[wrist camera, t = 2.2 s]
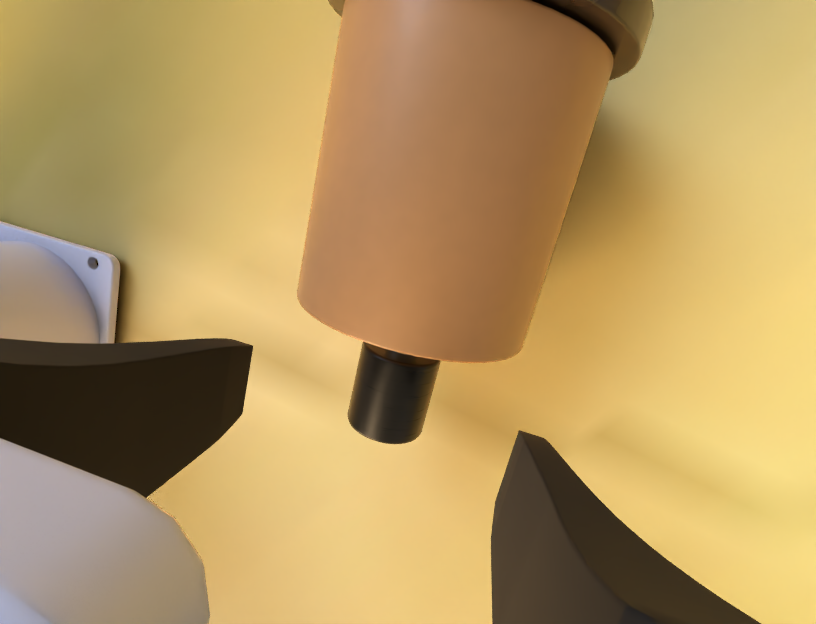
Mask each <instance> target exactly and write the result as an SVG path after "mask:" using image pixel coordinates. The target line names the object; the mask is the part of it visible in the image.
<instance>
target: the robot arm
mask: <svg viewBox="0 0 816 624" xmlns="http://www.w3.org/2000/svg"><path fill="white" fill-rule="evenodd" d="M96 259H97V261H98V266H97V264H96ZM119 278H120V263H119V261H118V259H117V258H116V257H115V256H114V255H112V254H109V253H106V252H102V251H99V250H96V249H92V248H89V247H86V246H82V245H79V244H76V243H72V242H69V241H65V240H62V239H59V238H55V237H52V236H49V235H45V234H42V233H39V232H35V231H32V230H28V229H25V228H22V227H18V226H15V225H12V224H8V223H5V222H2V221H0V624H209V618H210V612H209V603H208V595H207V587H206V579H205V571H204V565H203V561H202V559H201V557H200V556H199V554H198V552H197V551H196V549H195V548H194V546H193V545H192V543H191V542H190V540H189V539H188V537H187V535H186V534H185V532H184V531H183V529H182V528H181V526H180V525H179V523H178V522H177V520H176V518H175V517H173V516H172V515H170V514H169V513H167V512H166V511H164V510H163V509H161V508H160V507H158V506H157V505H155V504H154V503H152V502H151V501H149V500H148V499H146V497H148V496H149V495H150V494H151V493H153V492H154V491H155V490H156V489H158V488H159V487H160V486H162V485H163V484H164V483H165V482H167V481H168V480H169V479H170V478H172V477H173V476H174V475H175V474H177V473H178V472H179V471H181V470H182V469H183V468H184V467H186V466H187V465H188V464H189V463H191V462H192V461H193V460H194V459H196V458H197V457H198V456H199V455H201V454H202V453H203V452H204V451H206V450H207V449H208V448H209V447H211V446H212V445H213V444H214V443H215V442H216V441H218V440H219V439H220V438H221V437H222V436H223V435H224V434H225V433H226V431H227V430H228V429H229V428H230V427H231V426H232V425H233V424H234V423H235V422H236V421H237V419H238V418H239V417H240V416H241V415H242V412H243V406H244V400H245V393H246V387H247V381H248V375H249V369H250V363H251V356H252V350H253V346H252V345H249V344H245V343H242V342H239V341H236V340H232V339H218V338H213V339H189V340H173V341H158V342H134V343H114V339H115V327H116V315H117V303H118V291H119ZM491 571H492V619H493V624H761V623H759V622H758V621H756V620H755V619H753V618H751V617H750V616H748V615H747V614H745V613H743V612H742V611H740V610H739V609H737V608H735V607H734V606H732V605H731V604H729V603H728V602H726V601H724V600H723V599H721V598H720V597H719V596H717V595H716V594H714V593H713V592H711V591H710V590H708V589H707V588H705V587H704V586H702V585H701V584H699V583H698V582H697V581H695V580H694V579H692V578H691V577H690V576H688V575H687V574H686V573H684V572H683V571H682V570H680V569H679V568H678V567H676V566H675V565H673V564H672V563H671V562H669V561H668V560H667V559H665V558H664V557H663V556H662V555H660V554H659V553H658V552H657V551H655V550H654V549H653V548H652V547H650V546H649V545H648V544H647V543H646V542H644V541H643V540H642V539H641V538H640V537H639V536H638V535H636V534H635V533H634V532H633V531H632V530H631V529H629V528H628V527H627V526H626V525H625V524H624V523H623V522H622V521H621V520H619V519H618V518H617V517H616V516H615V515H614V514H613V513H612V512H611V511H610V510H609V509H608V508H607V507H606V506H605V505H604V504H603V503H602V502H601V501H600V500H599V499H598V498H597V497H596V496H595V495H594V494H593V492H592V491H591V490H590V489H589V488H588V487H587V486H586V485H585V484H584V483H583V481H582V480H581V479H580V478H579V477H578V476H577V475H576V474H575V472H574V471H573V470H572V469H571V468H570V467H569V465H568V464H567V463H566V462H565V461H564V459H563V458H562V457H561V456H560V455H559V454H558V452H557V451H556V450H555V449H554V448H553V447H552V445H551V444H550V443H549V442H548V441H547V440H546V439H544V438H542V437H538V436H535V435H532V434H529V433H526V432H523V431H520V430H519V432H518V435H517V438H516V441H515V444H514V447H513V450H512V453H511V456H510V459H509V462H508V465H507V468H506V471H505V474H504V477H503V480H502V483H501V486H500V489H499V492H498V495H497V498H496V501H495V509H494V517H493V525H492V535H491Z"/></svg>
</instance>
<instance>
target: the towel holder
mask: <svg viewBox="0 0 816 624" xmlns="http://www.w3.org/2000/svg"><path fill="white" fill-rule="evenodd" d="M328 1H329V3H330V5H331V6H332V7H333V9H334V10H335V11H336V12H337V13H338V14H339V15H340V16H341V17H342V19H341V25H340V31H339V37H338V43H337V50H336V56H335V62H334V68H333V74H332V80H331V87H330V93H329V99H328V105H327V111H326V117H325V124H324V130H323V136H322V142H321V148H320V154H319V161H318V167H317V173H316V179H315V185H314V191H313V197H312V204H311V210H310V216H309V222H308V228H307V234H306V241H305V247H304V253H303V259H302V265H301V271H300V278H299V284H298V290H297V297H298V300H299V302H300V304H301V306H302V307H303V308H304V309H305V310H306V311H307V312H308V313H309V314H310V315H311V316H313V317H314V318H316V319H317V320H319V321H320V322H322V323H324V324H325V325H327V326H329V327H331V328H333V329H335V330H337V331H339V332H341V333H343V334H345V335H348V336H350V337H353V338H355V339H358V340H360V341H363V344H362V349H361V354H360V359H359V363H358V368H357V373H356V377H355V382H354V387H353V391H352V396H351V401H350V405H349V410H348V419H349V422H350V424H351V426H352V427H353V428H354V429H355V430H356V431H357V432H359V433H360V434H362V435H363V436H365V437H367V438H369V439H372V440H375V441H378V442H382V443H388V444H402V443H408V442H411V441H413V440H415V439H416V438H417V437H418V436H419V435H420V434H421V432H422V428H423V424H424V421H425V417H426V413H427V410H428V406H429V402H430V398H431V395H432V391H433V387H434V384H435V380H436V376H437V373H438V369H439V365H440V361H441V360H443V361H451V362H465V363H485V362H495V361H500V360H505V359H508V358H510V357H513V356H514V355H516V354H517V353H518V352H519V351H520V350H521V348H522V347H523V344H524V341H525V337H526V334H527V331H528V328H529V325H530V322H531V319H532V316H533V313H534V310H535V307H536V303H537V300H538V297H539V294H540V291H541V288H542V285H543V282H544V279H545V276H546V273H547V270H548V266H549V263H550V260H551V257H552V254H553V251H554V248H555V245H556V242H557V239H558V236H559V233H560V229H561V226H562V223H563V220H564V217H565V214H566V211H567V208H568V205H569V202H570V199H571V196H572V192H573V189H574V186H575V183H576V180H577V177H578V174H579V171H580V168H581V165H582V162H583V159H584V155H585V152H586V149H587V146H588V143H589V140H590V137H591V134H592V131H593V128H594V125H595V122H596V118H597V115H598V112H599V109H600V106H601V103H602V100H603V97H604V94H605V91H606V88H607V85H608V81H609V80H612V79H615V78H618V77H620V76H622V75H624V74H626V73H628V72H629V71H630V70H631V69H633V68H634V67H635V66H636V64H637V63H638V61H639V60H640V58H641V55H642V52H643V49H644V46H645V43H646V40H647V37H648V34H649V31H650V28H651V25H652V21H653V17H654V12H653V2H652V0H328Z"/></svg>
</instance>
